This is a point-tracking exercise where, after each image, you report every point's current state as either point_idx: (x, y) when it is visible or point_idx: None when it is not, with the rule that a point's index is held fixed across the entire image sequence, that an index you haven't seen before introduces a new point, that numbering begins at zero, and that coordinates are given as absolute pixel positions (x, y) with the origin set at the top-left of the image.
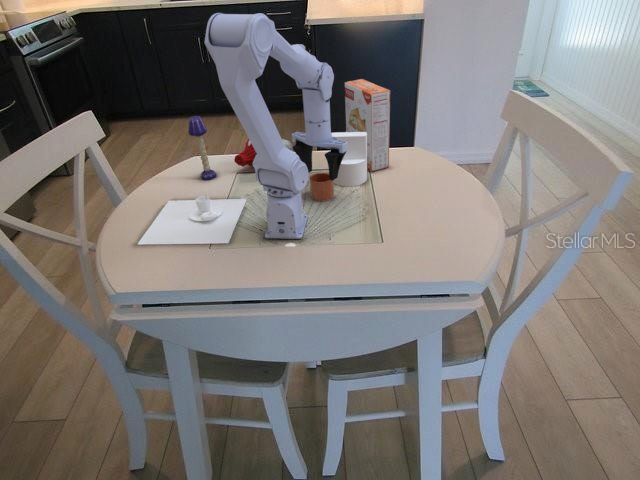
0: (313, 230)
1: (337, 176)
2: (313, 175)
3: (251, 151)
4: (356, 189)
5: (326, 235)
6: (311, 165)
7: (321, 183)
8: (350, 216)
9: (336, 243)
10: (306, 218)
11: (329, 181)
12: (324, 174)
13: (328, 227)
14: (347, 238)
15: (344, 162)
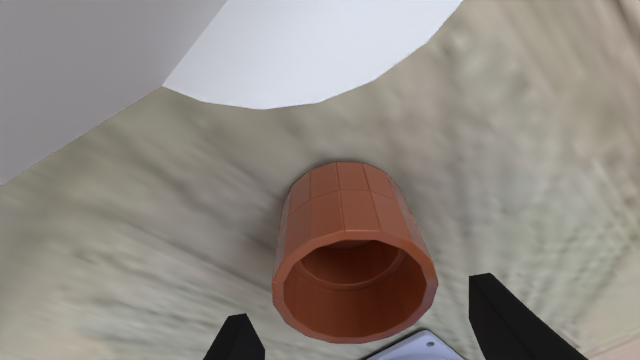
0: None
1: (499, 282)
2: (285, 304)
3: None
4: None
5: None
6: (235, 352)
7: (408, 322)
8: (575, 237)
9: (606, 347)
10: (441, 347)
11: (436, 288)
12: (317, 243)
13: None
14: (631, 319)
15: (342, 32)
